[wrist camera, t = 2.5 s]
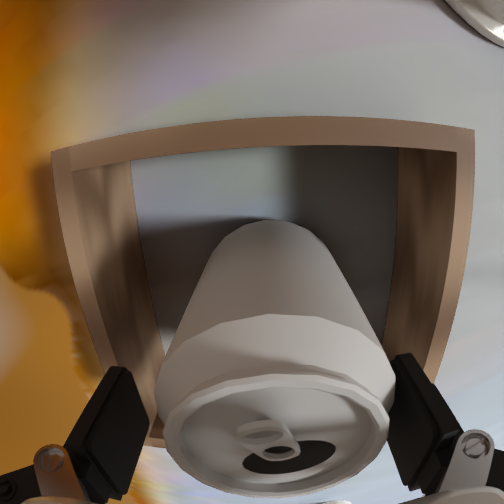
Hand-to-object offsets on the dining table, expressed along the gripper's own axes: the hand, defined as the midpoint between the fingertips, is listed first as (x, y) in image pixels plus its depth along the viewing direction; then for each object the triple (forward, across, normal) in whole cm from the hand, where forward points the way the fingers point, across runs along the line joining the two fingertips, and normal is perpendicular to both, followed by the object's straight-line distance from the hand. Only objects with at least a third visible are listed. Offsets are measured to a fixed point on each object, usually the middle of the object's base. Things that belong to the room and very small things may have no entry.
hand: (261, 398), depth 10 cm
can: (+9, -1, -1) cm, 9 cm away
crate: (+9, -1, -1) cm, 9 cm away
